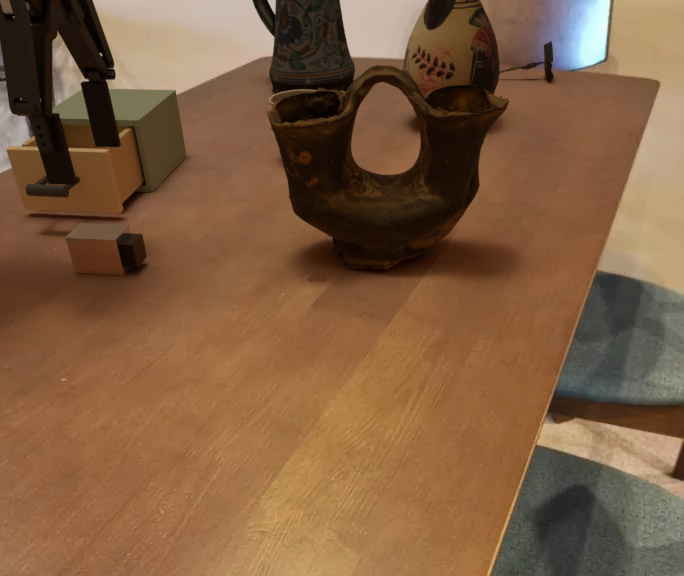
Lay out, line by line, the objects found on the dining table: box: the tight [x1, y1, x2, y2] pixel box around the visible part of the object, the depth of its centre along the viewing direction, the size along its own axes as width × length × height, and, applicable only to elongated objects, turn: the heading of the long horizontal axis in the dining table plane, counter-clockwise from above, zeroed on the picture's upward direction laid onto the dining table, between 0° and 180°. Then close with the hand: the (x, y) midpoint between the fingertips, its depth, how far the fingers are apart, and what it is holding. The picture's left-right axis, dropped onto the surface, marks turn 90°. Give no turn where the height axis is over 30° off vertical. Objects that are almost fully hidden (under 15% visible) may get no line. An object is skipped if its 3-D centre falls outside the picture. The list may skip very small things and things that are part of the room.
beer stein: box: [252, 0, 356, 94], centre depth 132 cm, size 16×19×25 cm
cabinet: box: [52, 88, 187, 193], centre depth 105 cm, size 15×15×10 cm
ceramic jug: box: [402, 0, 501, 102], centre depth 111 cm, size 17×15×30 cm
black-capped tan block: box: [65, 222, 148, 277], centre depth 83 cm, size 8×4×4 cm, turn 80°
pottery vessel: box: [266, 64, 510, 271], centre depth 79 cm, size 25×11×20 cm, turn 88°
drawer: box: [5, 124, 145, 215], centre depth 96 cm, size 18×13×8 cm
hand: (86, 163), depth 77 cm, fingers open, 10 cm apart
